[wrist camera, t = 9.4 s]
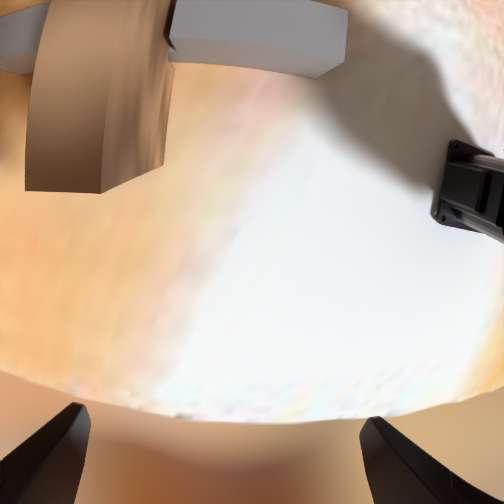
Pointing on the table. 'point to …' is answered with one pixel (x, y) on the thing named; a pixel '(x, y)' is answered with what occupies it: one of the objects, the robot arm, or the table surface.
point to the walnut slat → (99, 95)
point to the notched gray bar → (217, 35)
